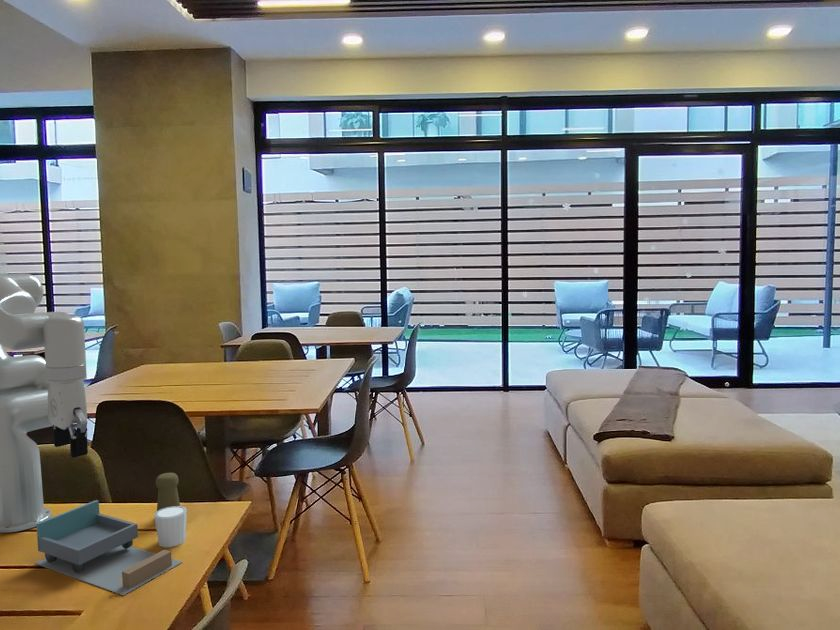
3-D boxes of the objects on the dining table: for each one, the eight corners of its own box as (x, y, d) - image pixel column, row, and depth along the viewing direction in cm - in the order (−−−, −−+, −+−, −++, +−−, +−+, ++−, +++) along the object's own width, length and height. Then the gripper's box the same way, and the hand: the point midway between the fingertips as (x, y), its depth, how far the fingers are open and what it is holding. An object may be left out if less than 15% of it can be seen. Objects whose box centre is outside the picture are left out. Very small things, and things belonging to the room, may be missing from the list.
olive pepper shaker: (176, 522, 149) (174, 478, 148) (151, 522, 149) (149, 478, 148) (186, 512, 155) (184, 469, 154) (162, 512, 155) (160, 470, 154)
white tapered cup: (177, 549, 135) (175, 519, 134) (149, 547, 136) (147, 516, 136) (194, 535, 142) (193, 506, 141) (167, 533, 143) (166, 504, 142)
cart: (39, 561, 129) (36, 523, 128) (98, 535, 141) (96, 500, 140) (80, 576, 123) (77, 536, 122) (138, 547, 135) (136, 510, 134)
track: (35, 563, 130) (33, 549, 129) (96, 536, 142) (95, 523, 142) (123, 595, 117) (122, 579, 116) (182, 562, 129) (181, 548, 129)
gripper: (33, 369, 135) (37, 445, 137) (61, 382, 123) (66, 464, 125) (70, 365, 140) (74, 438, 142) (101, 376, 129) (105, 455, 131)
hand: (70, 450), depth 134 cm, fingers open, 9 cm apart
